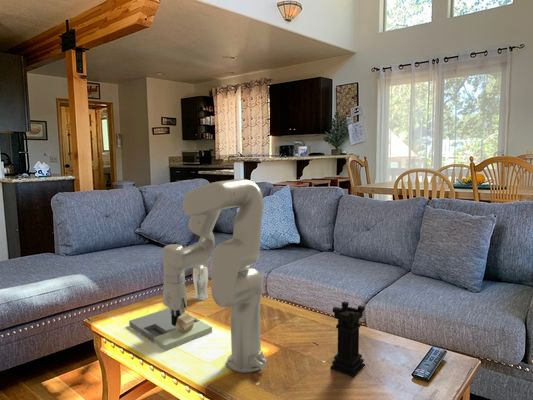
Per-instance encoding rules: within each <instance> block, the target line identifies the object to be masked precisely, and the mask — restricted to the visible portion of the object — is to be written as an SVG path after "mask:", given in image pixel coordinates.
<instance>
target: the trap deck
mask: <svg viewBox="0 0 533 400" xmlns="http://www.w3.org/2000/svg"><path fill="white" fill-rule="evenodd" d="M185 313H186V312H185ZM185 313H182V314H181V315H183V314H185ZM190 316H191V317H193V318H194V319H195V321H194V324H193V328H192V329H191V330H189V331H187V332H186V333H183V332H181V331H180V330H179V329H177V328H176V327H175V326H173V325H172V320H171V313H170V308H169V307H167V308H165V309H161V310H159V311H156V312H152V313H149V314H146V315H143V316H141V317H136V318H133V319H131V320H129V321H128V322H129V323H128V324H129V327H130V328H132V329H133V330H135V331H137V333H139V334H141V335H142V336H144V337H145V338H146V339H148V340H149V341H150V342H152V343H153V344H155V345H157V346H158V347H159V348H160V349H162V350H164V351H168V350H170V349H172V348H176V347H177V346H180V345H183V344H185V343H188V342H190V341H192V340H196V339H197V338H198V339H199V338H201V337H203V336H205V335H208V334H210V333H213V326H211V325H209V324H207V323H205V322H203V321H202V320H200V319H197V318H195V317H194V316H192V315H190Z"/></svg>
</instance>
